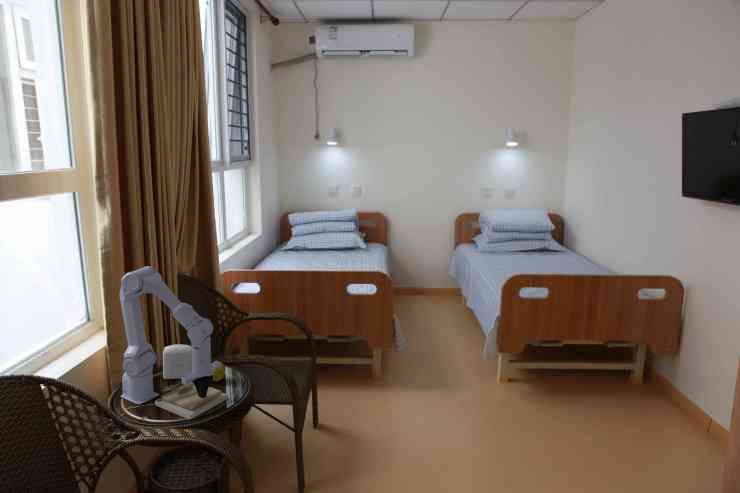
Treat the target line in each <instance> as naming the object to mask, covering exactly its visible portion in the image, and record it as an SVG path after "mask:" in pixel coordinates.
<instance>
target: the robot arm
mask: <svg viewBox="0 0 740 493" xmlns="http://www.w3.org/2000/svg"><path fill="white" fill-rule="evenodd" d="M120 283H121V286H120V290H119V302H120V306H121V311H122V312H121V313H122V319H123V323H124V328H125V335H126V340H127V349H126V350H125V351H124V354H123V363H122V369H123V371H124V373H123V375H122V378H121V383H122V384H121V385H122V387H121V388H122V394H121V395H120V398H121V397H122V399H124V400H126V401H129V402H131V403H133V404H136V405H138V406H139V405H141V404H143V403H144V404H145V403H146V402H148V401H150V400H152V399H154V398H156V397H159V396H160V393H158V392H155V391H154V383H153V378H154V377H153V376H154V375H153V369H154V365H155V364H156V362H157V354H156V352H155V351H154V348H153V345H152V344H151V343H149V342H147V337H146V332H145V331H146V330H145V325H144V317H143V313H142V306H141V301H140V300H141V299H140V296H141V295H142V294H153V295H155V296H156V297H157V298H158V299H159V300H161V301H162V303H164V304H165V305H166V306H167V307H168V308H169V309H170V310H172V317H173V318H174V319H175V320H176V321H177V322H178V323H179V324H180V325H181V326H182V327H183V328H184V329H185V330H186V331H187V333H186V334H187V337H188V339H189V340H190V343H191V344H190V346H192V371H191V372H189V373H188V374H187V375H186V376H184V377H183V378H181V384H182V385H188V383H190V382H193V384H194V386H195V387H196V390H197V393H198V396H199V397H200V398H205V397H206V395H207V391H208V387H210V384H211V382H212V381H213V380H212V379H213V375H212V374H213V371H214V370H216V369H218V370H219V369H221V363H222V362H221V363H218V362H215V361H214V362H215V363H213V362H212V361H211V360H212V352H211V347H212V346H211V334H213V331H214V324H213V323H212V321H211V320H210V319H209V318H204V317H203V316H200V315H199V314H198V312H196V310H194V308H193V306H192V305H191V304H188V302H181V300H180V299H178V297H177V296H176V295H175V294H174V293H173V291H172V290H171V289H170V288H169V286H168V285H167V284H166V283H165V282H164V281H163V278H162V275H161V273H159V272H158V271H157V269H155V268H154V267H153V266H150V265H146V266H143V267H141V268H139V269H136V270H133V271H130V272H129V271H128V272H127V273H126V274H124V275H123V277H122V278H121V279H120Z"/></svg>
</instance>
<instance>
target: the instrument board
mask: <svg viewBox="0 0 740 493" xmlns="http://www.w3.org/2000/svg"><path fill="white" fill-rule="evenodd" d="M222 393H223V392H222V390H221V389H217V388H214V387H211V386H209V387H208V391H207V395H206V397H205V398H200V397H199V396H198V393H197V390H196V387H195V386H194V384H193V382H192V381H191V382H189V383H188V385H184V384H182V385H181V386H179V387H177V388H175V389H173V390H171V391H168V392H166V393H164V394H162V395H160V396H161V397H160V398H161V399H163V400H166V401H169V402H172V403H175V404H177V405H180V406H183V407H186V408H189V409H194V408H196V407H198V406H200V405H202V404H203V403H205V402H207V401H209V400H211V399H213V398H215V397H216V396H218V395H220V394H222Z"/></svg>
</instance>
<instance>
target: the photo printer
mask: <svg viewBox="0 0 740 493" xmlns="http://www.w3.org/2000/svg"><path fill="white" fill-rule="evenodd" d="M162 367H163V368H162V374H163V375H162V376H163V379H164V380H175V379H177V380H179V379H181V380H182V378H183V377H184V376H186V375H187V374H188V373H189V372H191V371H192V345H188V344H182V343H181V344H171V345H167V346H164V348H163V351H162Z"/></svg>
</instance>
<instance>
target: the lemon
mask: <svg viewBox="0 0 740 493" xmlns="http://www.w3.org/2000/svg"><path fill="white" fill-rule="evenodd" d="M215 362H218V363H221V369H219V370H218V369H216V370H214V371H213V374H212V375H213V379H212V381H215V383H218V382H220V381H221V380H223V378H224V377H225V373H226V369H225V366H224V364H223V362H222V361H218V360H215V361H214V362H212V363H215Z"/></svg>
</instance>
